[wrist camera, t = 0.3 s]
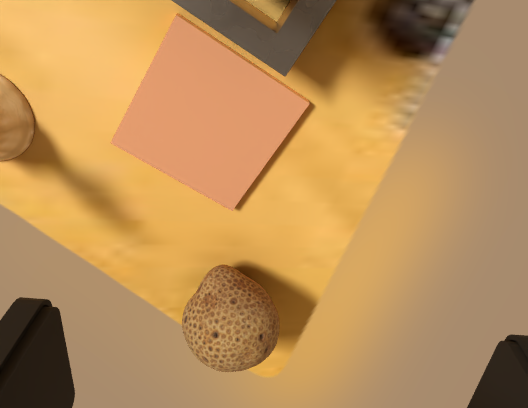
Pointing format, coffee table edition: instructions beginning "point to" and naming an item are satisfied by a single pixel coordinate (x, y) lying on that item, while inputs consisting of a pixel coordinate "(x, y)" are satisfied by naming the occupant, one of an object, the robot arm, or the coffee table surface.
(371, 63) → the coffee table surface
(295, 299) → the coffee table surface
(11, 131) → the hand bell
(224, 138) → the terracotta tile
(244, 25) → the frame
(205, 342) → the natural sponge
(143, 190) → the coffee table surface
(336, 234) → the coffee table surface
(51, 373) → the robot arm
